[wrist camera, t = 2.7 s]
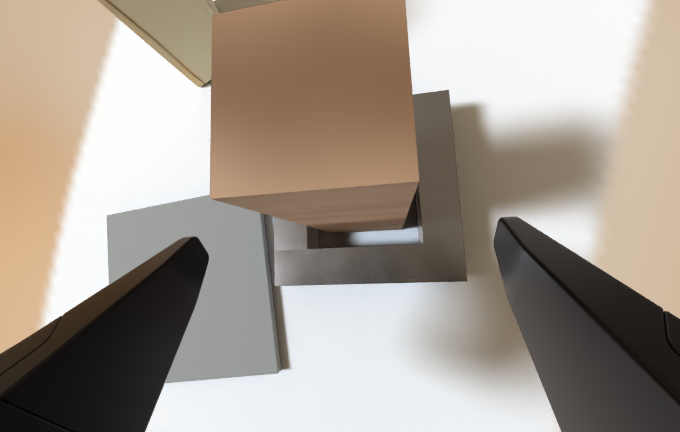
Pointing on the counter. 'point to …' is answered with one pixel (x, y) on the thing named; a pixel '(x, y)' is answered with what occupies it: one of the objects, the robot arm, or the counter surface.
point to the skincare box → (173, 31)
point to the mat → (209, 284)
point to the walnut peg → (314, 113)
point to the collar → (392, 260)
